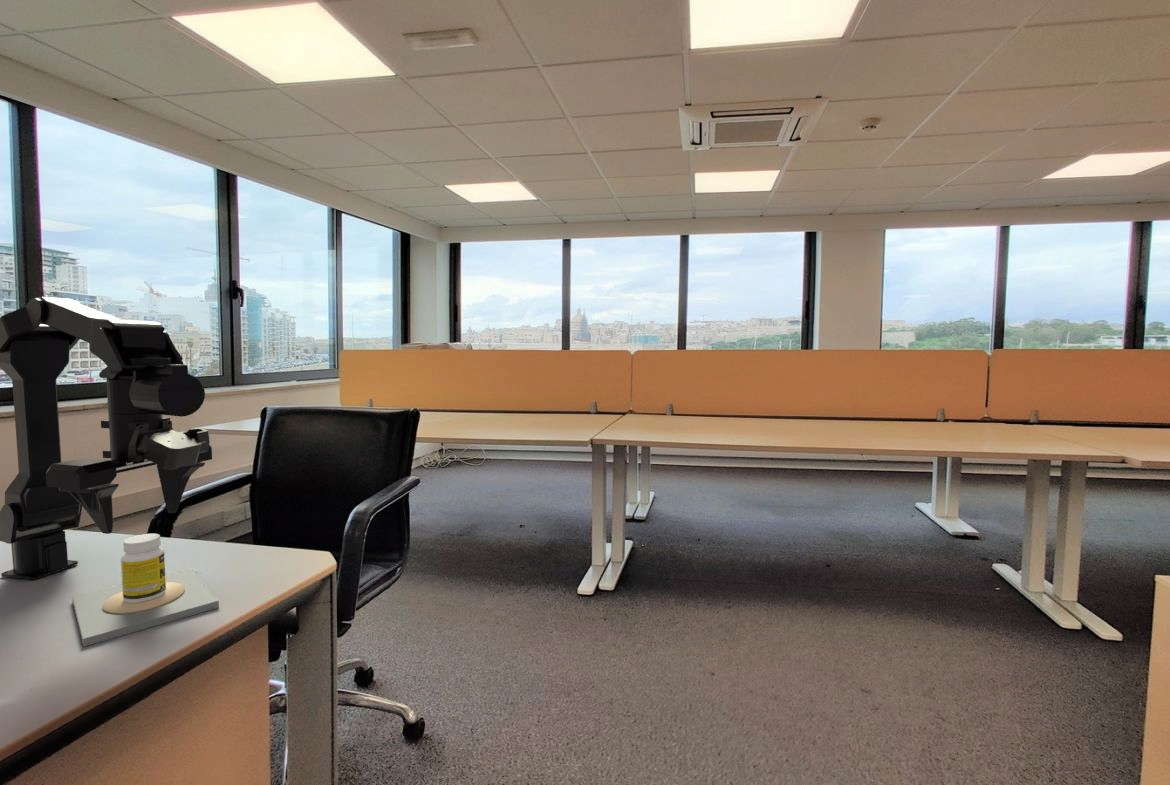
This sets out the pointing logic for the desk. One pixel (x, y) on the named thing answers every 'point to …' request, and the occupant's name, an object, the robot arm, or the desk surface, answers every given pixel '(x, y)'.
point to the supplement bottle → (143, 568)
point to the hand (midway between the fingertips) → (141, 522)
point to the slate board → (140, 607)
